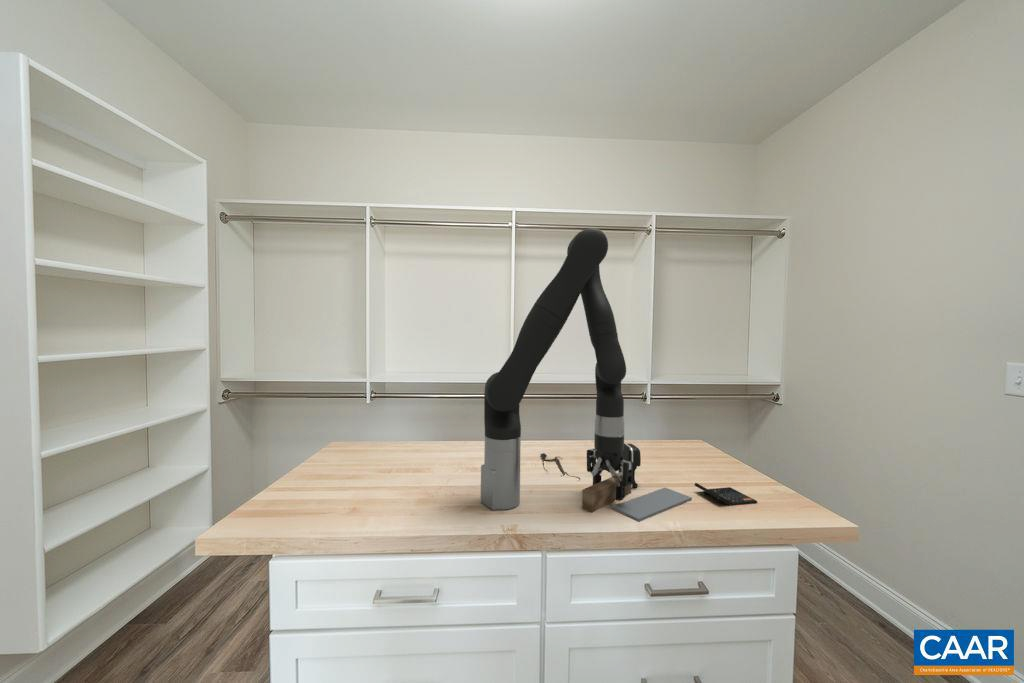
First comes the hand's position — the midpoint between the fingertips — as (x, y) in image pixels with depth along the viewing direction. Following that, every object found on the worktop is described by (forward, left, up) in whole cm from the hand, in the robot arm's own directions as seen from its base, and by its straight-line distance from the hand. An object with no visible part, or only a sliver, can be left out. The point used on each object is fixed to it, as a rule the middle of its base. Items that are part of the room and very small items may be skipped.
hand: (608, 494), depth 103 cm
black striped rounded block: (+14, +4, -2) cm, 15 cm away
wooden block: (0, 0, -2) cm, 2 cm away
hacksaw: (+6, +26, -2) cm, 27 cm away
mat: (+8, -8, -1) cm, 11 cm away
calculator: (+28, -16, -2) cm, 32 cm away
